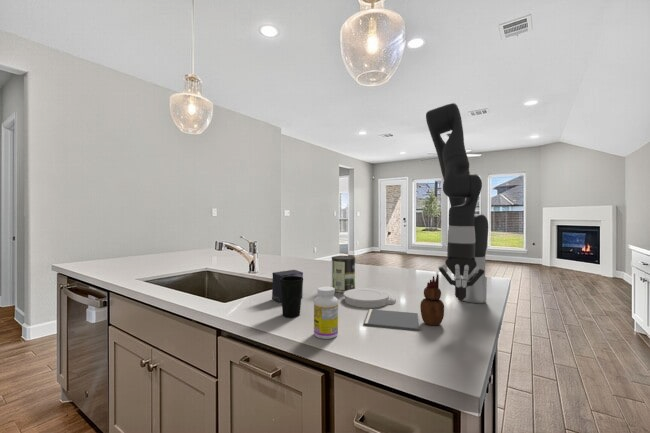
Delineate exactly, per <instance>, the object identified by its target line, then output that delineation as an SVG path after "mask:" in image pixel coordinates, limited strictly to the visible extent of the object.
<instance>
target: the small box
mask: <svg viewBox="0 0 650 433" xmlns="http://www.w3.org/2000/svg"><path fill="white" fill-rule="evenodd" d="M285 276H299V277H302V278H303V279H304V272H303V271H300V270H297V269H289V270H282V271H274V272H272V285H271V286H272V288H271V291H272V292H271V299H272V300H273V301H275V302H277V303H281V304H282V300H281V289H280V278H281V277H285ZM303 288H304V287H302V297H301V299H303V295H304V294H303Z"/></svg>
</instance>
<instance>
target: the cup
mask: <svg viewBox="0 0 650 433" xmlns="http://www.w3.org/2000/svg"><path fill="white" fill-rule="evenodd" d="M303 284H304V277H303V278H302V277H299V276H285V277H281V278H280V289H281V300H282V303H281V308H282V310H281V311H282V316H283V317H284V318H291V319H292V318H293V319H294V318H298V317H299V316H300V315H301V308H302V307H301V306H302V298H303V295H302V287H303V286H304V285H303ZM303 288H304V287H303ZM301 297H302V298H301Z"/></svg>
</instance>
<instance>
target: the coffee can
mask: <svg viewBox="0 0 650 433" xmlns="http://www.w3.org/2000/svg"><path fill="white" fill-rule="evenodd" d="M355 276H356V257H355V256H351V255H335V256H331V287H333V288H334V289H335V292H336V293H344V292H345V291H347V290H351V289H356V277H355Z"/></svg>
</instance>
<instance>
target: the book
mask: <svg viewBox="0 0 650 433" xmlns="http://www.w3.org/2000/svg"><path fill="white" fill-rule="evenodd" d="M362 324H363V326H367V327H376V328H377V327H378V328H386V327H387V328H388V329H399V330H409V331H418V332H419V331H420V322H419V316H418V313H417V312H408V311H398V310H397V311H396V310H384V309H375V308H374V309H373V308H368V310H367V312H366V315H365V318H364V321H363V323H362Z"/></svg>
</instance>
